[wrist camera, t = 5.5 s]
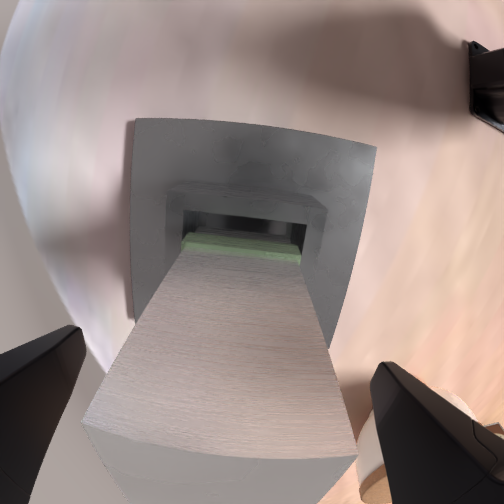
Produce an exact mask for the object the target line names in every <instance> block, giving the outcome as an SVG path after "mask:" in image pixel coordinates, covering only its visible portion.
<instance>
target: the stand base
mask: <svg viewBox="0 0 504 504" xmlns="http://www.w3.org/2000/svg"><path fill="white" fill-rule="evenodd" d="M376 149H377V147H375V146H371V145H367V144H363V143H359V142H354V141H350V140H346V139H341V138H336V137H331V136H326V135H321V134H316V133H310V132H304V131H298V130H292V129H286V128H279V127H272V126H264V125H256V124H247V123H237V122H226V121H214V120H198V119H173V118H136V120H135V130H134V141H133V153H132V168H131V190H130V256H131V278H132V294H133V306H134V317H135V324H136V323H137V321H138V319H139V318H140V316H141V315H142V313H143V311H144V310H145V308H146V306H147V305H148V303H149V302H150V300H151V298H152V297H153V295H154V294H155V292H156V290H157V289H158V287H159V286H160V284H161V283H162V281H163V279H164V278H165V276H166V275H167V273H168V272H169V270H170V269H171V267H172V266H173V264H174V262H175V261H176V259H177V258H178V256H179V255H180V253H181V242H182V240H183V239H184V238H185V236H186V235H187V234H188V232H191V233H195V231H196V230H197V228H198V227H199V226H207V227H216V228H224V229H233V230H242V231H251V232H259V233H267V234H276V235H284V236H289V239H290V242H291V244H295V245H297V246H298V248H299V251H300V253H301V255H302V256H301V261H300V266H299V267H300V269H301V272H302V275H303V278H304V281H305V284H306V286H307V289H308V292H309V295H310V298H311V301H312V304H313V307H314V310H315V312H316V315H317V318H318V321H319V324H320V327H321V330H322V333H323V336H324V339H325V343H326V346H327V349H329V347H330V344H331V341H332V338H333V335H334V332H335V329H336V325H337V322H338V319H339V316H340V312H341V309H342V306H343V302H344V299H345V295H346V292H347V288H348V284H349V281H350V277H351V273H352V269H353V265H354V261H355V257H356V253H357V249H358V245H359V240H360V236H361V231H362V227H363V222H364V217H365V213H366V208H367V203H368V197H369V192H370V186H371V181H372V175H373V169H374V162H375V156H376Z"/></svg>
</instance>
